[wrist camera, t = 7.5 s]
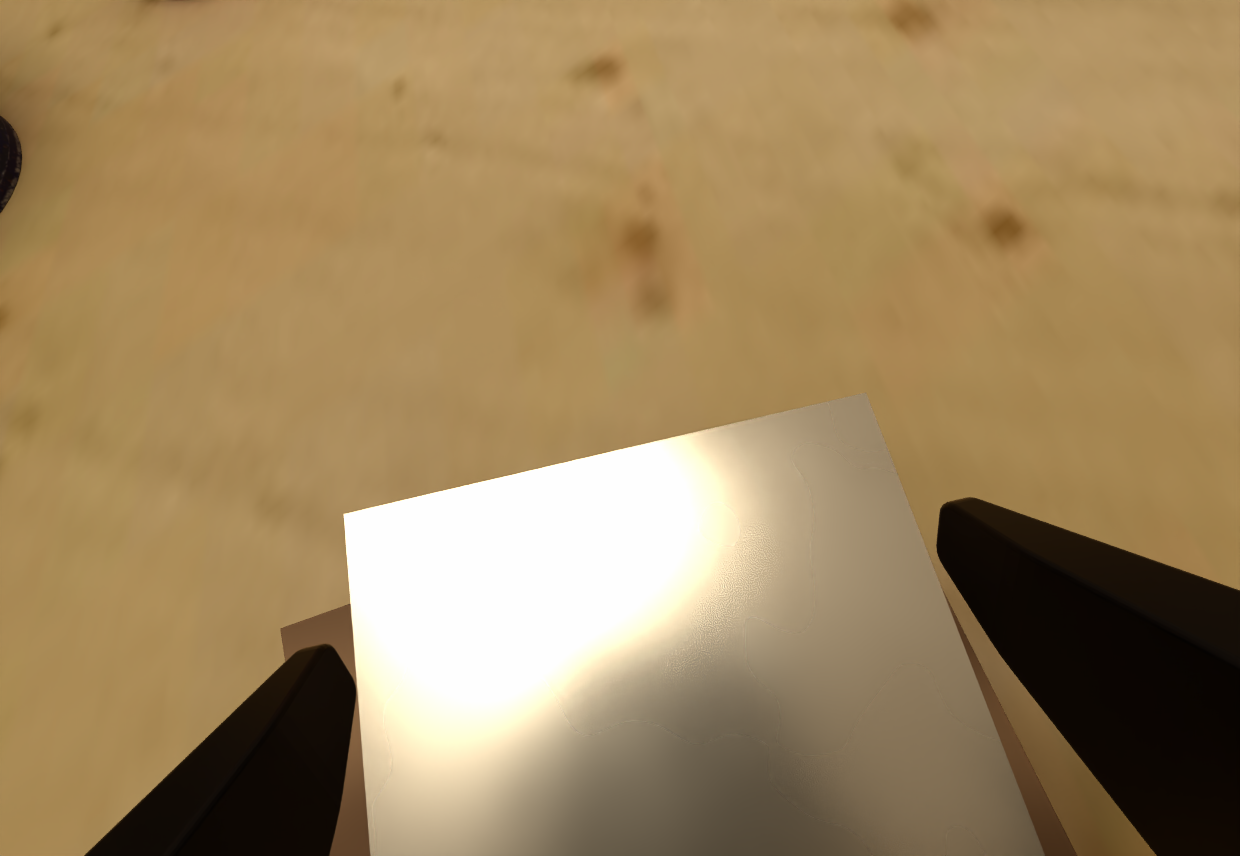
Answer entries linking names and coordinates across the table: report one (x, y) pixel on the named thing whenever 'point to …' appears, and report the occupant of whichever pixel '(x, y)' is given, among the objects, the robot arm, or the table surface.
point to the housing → (674, 659)
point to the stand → (352, 822)
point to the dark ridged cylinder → (8, 161)
